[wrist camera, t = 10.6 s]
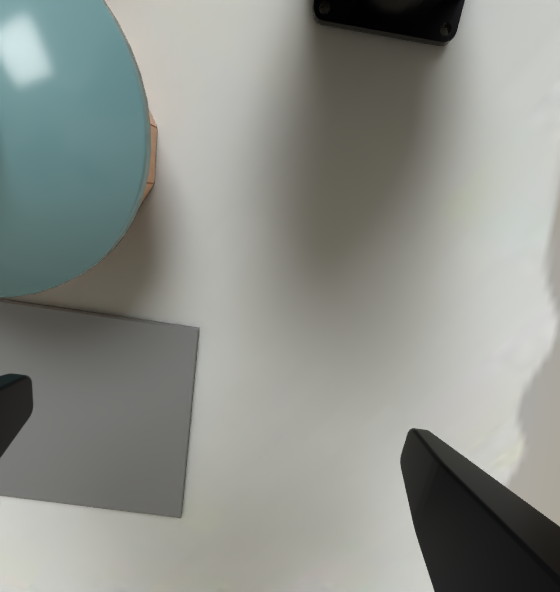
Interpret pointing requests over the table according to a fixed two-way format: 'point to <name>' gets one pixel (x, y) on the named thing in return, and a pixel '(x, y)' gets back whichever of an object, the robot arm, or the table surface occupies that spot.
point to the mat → (99, 408)
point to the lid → (66, 140)
